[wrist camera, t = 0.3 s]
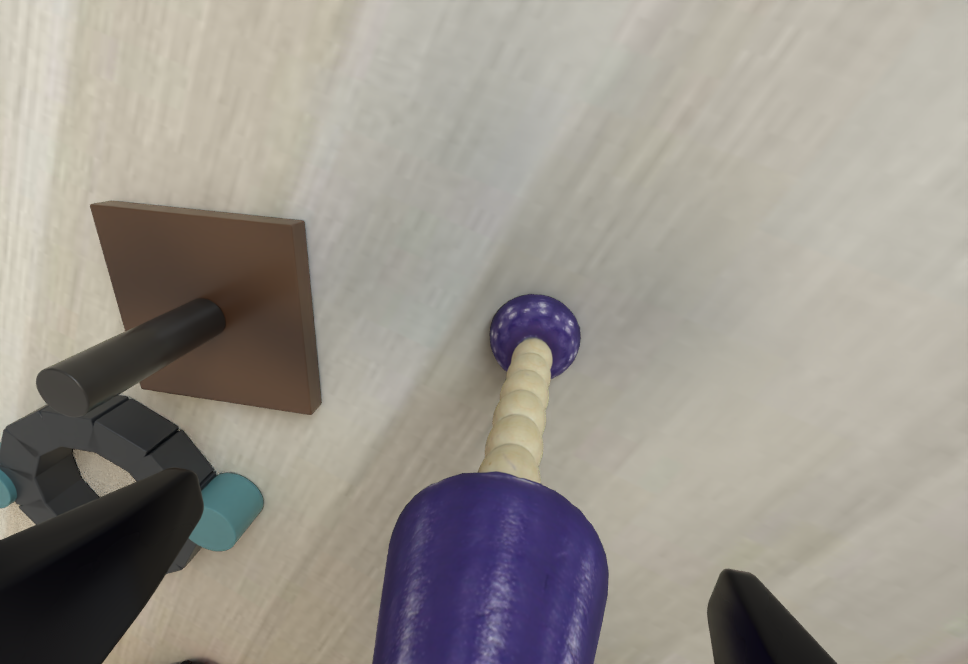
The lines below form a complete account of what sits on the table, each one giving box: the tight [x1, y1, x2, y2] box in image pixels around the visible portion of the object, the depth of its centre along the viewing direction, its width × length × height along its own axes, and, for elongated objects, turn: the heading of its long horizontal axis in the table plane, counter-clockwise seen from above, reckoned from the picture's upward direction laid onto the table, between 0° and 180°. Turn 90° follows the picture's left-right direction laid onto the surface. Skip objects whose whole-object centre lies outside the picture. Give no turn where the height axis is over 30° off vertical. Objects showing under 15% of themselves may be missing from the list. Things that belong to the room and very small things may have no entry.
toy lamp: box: [372, 294, 609, 664], centre depth 14 cm, size 5×5×17 cm
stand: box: [36, 201, 322, 417], centre depth 20 cm, size 10×10×8 cm
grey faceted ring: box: [0, 395, 263, 574], centre depth 29 cm, size 13×19×3 cm
